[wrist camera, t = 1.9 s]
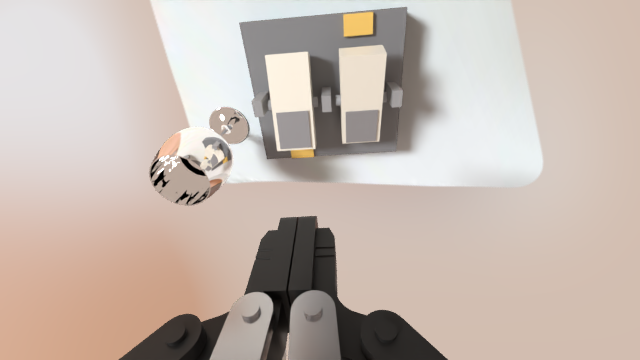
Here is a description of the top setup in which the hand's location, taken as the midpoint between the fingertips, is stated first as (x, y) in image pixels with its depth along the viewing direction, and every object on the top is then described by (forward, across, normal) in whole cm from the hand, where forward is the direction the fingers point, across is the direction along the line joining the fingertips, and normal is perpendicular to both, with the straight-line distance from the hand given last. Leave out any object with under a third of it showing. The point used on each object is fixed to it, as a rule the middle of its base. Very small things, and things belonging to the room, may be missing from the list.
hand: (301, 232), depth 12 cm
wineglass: (+21, +10, +2) cm, 23 cm away
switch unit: (+21, -1, -2) cm, 21 cm away
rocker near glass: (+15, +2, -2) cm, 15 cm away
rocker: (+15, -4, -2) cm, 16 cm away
